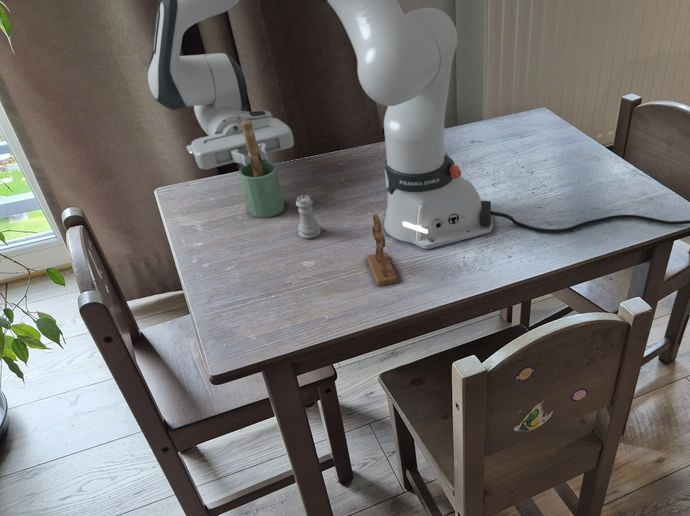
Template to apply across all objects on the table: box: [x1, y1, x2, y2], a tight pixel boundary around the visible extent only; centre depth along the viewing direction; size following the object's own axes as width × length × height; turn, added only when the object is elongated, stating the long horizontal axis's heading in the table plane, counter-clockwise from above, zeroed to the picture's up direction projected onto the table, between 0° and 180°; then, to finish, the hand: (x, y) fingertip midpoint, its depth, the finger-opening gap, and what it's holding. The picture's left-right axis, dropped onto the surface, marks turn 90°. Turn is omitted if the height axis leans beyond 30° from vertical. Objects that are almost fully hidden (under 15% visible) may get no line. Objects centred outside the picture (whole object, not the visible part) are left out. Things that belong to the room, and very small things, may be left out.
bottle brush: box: [241, 120, 265, 177], centre depth 128 cm, size 4×4×17 cm
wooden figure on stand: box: [366, 213, 399, 287], centre depth 115 cm, size 9×4×12 cm, turn 20°
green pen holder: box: [238, 160, 286, 218], centre depth 132 cm, size 7×7×9 cm
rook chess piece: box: [295, 194, 322, 240], centre depth 125 cm, size 4×4×8 cm
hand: (256, 160), depth 126 cm, fingers closed on bottle brush, 2 cm apart
